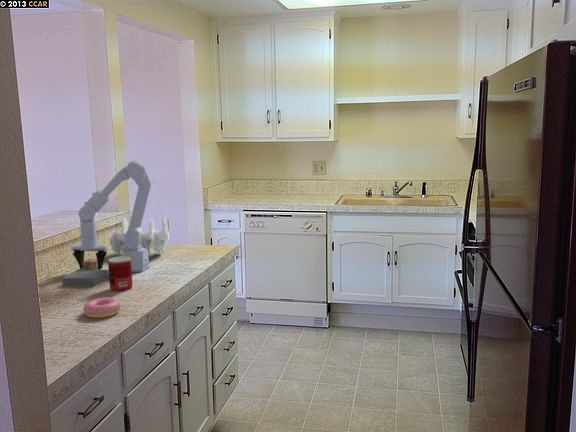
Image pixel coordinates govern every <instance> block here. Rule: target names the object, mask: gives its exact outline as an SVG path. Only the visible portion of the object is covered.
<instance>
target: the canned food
mask: <svg viewBox="0 0 576 432" xmlns="http://www.w3.org/2000/svg"><path fill="white" fill-rule="evenodd" d="M107 266H108V267H107V268H108V269H107V270H108V275H109V277H108V279H109V288H110V290H111V291H112V292H125V291H129V290H131V289H132V288H133V285H134V283H133V272H132V265H131V258H130V257H127V256H122V255H121V256H120V255H119V256H114V257H110V258H109V259H108V260H107Z"/></svg>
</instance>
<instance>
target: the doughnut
mask: <svg viewBox="0 0 576 432" xmlns="http://www.w3.org/2000/svg"><path fill="white" fill-rule="evenodd" d="M120 309H121V303H120V301H119V300H118V299H116V298H114V297H100V298H99V297H97V298H95V299H92V300H89V301H88V302H86V303H85V304H84V305H83V313H84V315H85V316H87V317H88V318H91V319H105V318H110V317H112V316H114V315H116V314H117V313H119V312H120Z"/></svg>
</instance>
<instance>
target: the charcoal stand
mask: <svg viewBox="0 0 576 432" xmlns="http://www.w3.org/2000/svg"><path fill="white" fill-rule="evenodd" d="M61 279H62V281H61V283H62V287H88V288H89V287H90V288H91V287H92V288H93V287H95V286H98V285H99V284H101V283H102V282H104V281H105V280H106V279H109V269H100V270H91V269H80V268H78V269H76V270H75V271H73V272H71V273H69V274H67V275H66V276H63V277H62V278H61Z"/></svg>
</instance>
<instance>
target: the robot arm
mask: <svg viewBox="0 0 576 432" xmlns="http://www.w3.org/2000/svg"><path fill="white" fill-rule="evenodd" d="M130 179H132V180H133V181H134V182H135V184H136V185H137V187H138V188H137V191H136V192H137V193H136V196H135V200H134V205H133V208H132V212H131V215H130V216H131V217H130V220H129V223H128V231H127V232H126V233H125V235H124V239H123V244H124V247H123V253H122V255H123V256H127V257H130V258H131V265H132V273H133V272H141V273H143V272H144V271H146V270H147V269H148V268H150V267H151V266H150V262H149V261H150V260H149V254H148V250H147V249H146V248H141V245H140V244H139V243H140V240H139V239H140V236H139V232H140V227H142V223H143V222H142V221H143V218H144V214H145V212H146V211H145V210H146V207H147V204H148V203H147V202H148V198H149V194H150V191H151V190H150V189H151V187H152V183H151V180H150V178H149V175H148V173H147V170H146V168H145V167H144V166H143V164H142V163H141V162H140V161H138V160H131V161H130V162H128V164H126V165H125V166H124V167H122V168H121V169H120V170H119V171H118V172H117V173H116V174H114V176H113V177H112V179H110V181H109V182H108V183H107V184H106V186H104V188H103V189H100V190H99V189H98V190H96V191H93V192H92V194H91V195H92V196H91V197H90V198H88V200H87V201H85V202H84V203H83V204H84V205H83V206H82V207H80V208H79V211H78V217H79V219H80V220H79V221H80V222H79V223H80V225H79V227H80V240H81V241H80V242H81V245H77V244H76V245H72V246H70V247H71V252H72V256H73V257H74V258H75V260H76V261H77V264H78V266H79V269H83V262H84V261H85V253H86V252H95V257H96V259H97V261H98V269H99V270H103V265H104V262H105V261H104V260H105V258H106V256H107V253H108V251H109V246H108V245H101V244H98V240H97V239H98V237H97V236H98V235H97V226H96V225H97V224H96V219H95V216H96V214H97V213H99V212H100V211H101V209H102V208H103V207H104V206H105V205H106V204H107V203H108V202H109V200H110V197H109V196H110V195H111V193H112V192H113V191H114V190H115V189H117V187H118V186H119V185H120V184H121V183H122V182H125V181H127V180H130Z"/></svg>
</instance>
